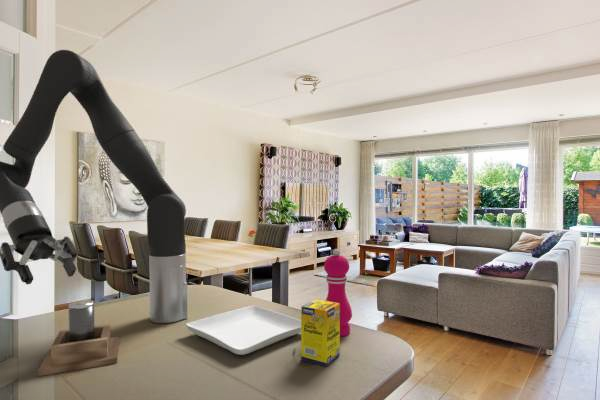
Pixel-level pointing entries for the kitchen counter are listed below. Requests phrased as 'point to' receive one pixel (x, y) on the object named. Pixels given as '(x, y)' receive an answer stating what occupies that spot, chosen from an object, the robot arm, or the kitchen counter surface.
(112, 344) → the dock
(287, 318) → the salad plate
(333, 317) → the supplement box
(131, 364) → the kitchen counter surface
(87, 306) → the dark grey piece
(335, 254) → the pepper mill
